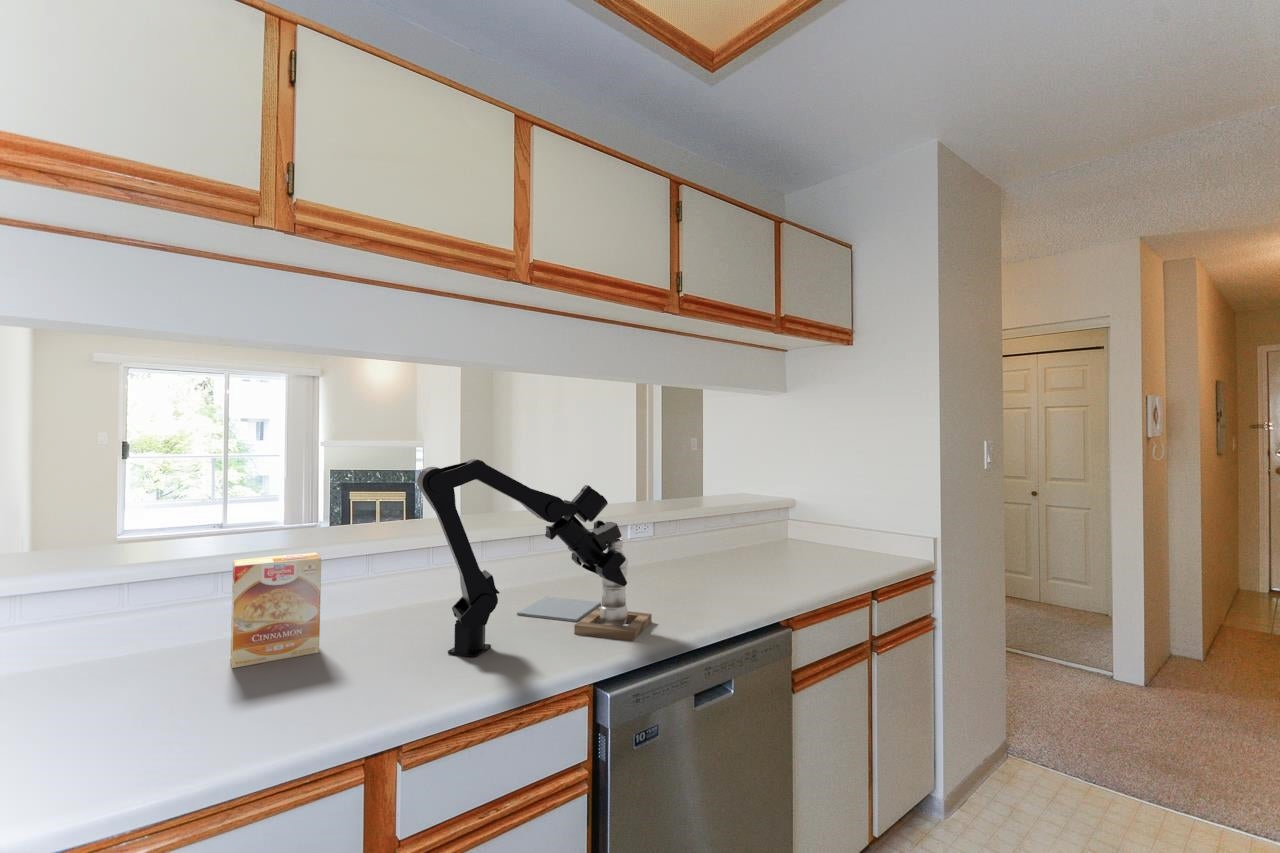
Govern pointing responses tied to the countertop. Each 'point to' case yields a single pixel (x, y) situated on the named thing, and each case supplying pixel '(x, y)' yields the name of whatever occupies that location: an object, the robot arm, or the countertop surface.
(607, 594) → the plastic bottle
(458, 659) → the countertop surface
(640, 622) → the pocket frame
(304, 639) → the coffeecake box
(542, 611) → the mat
